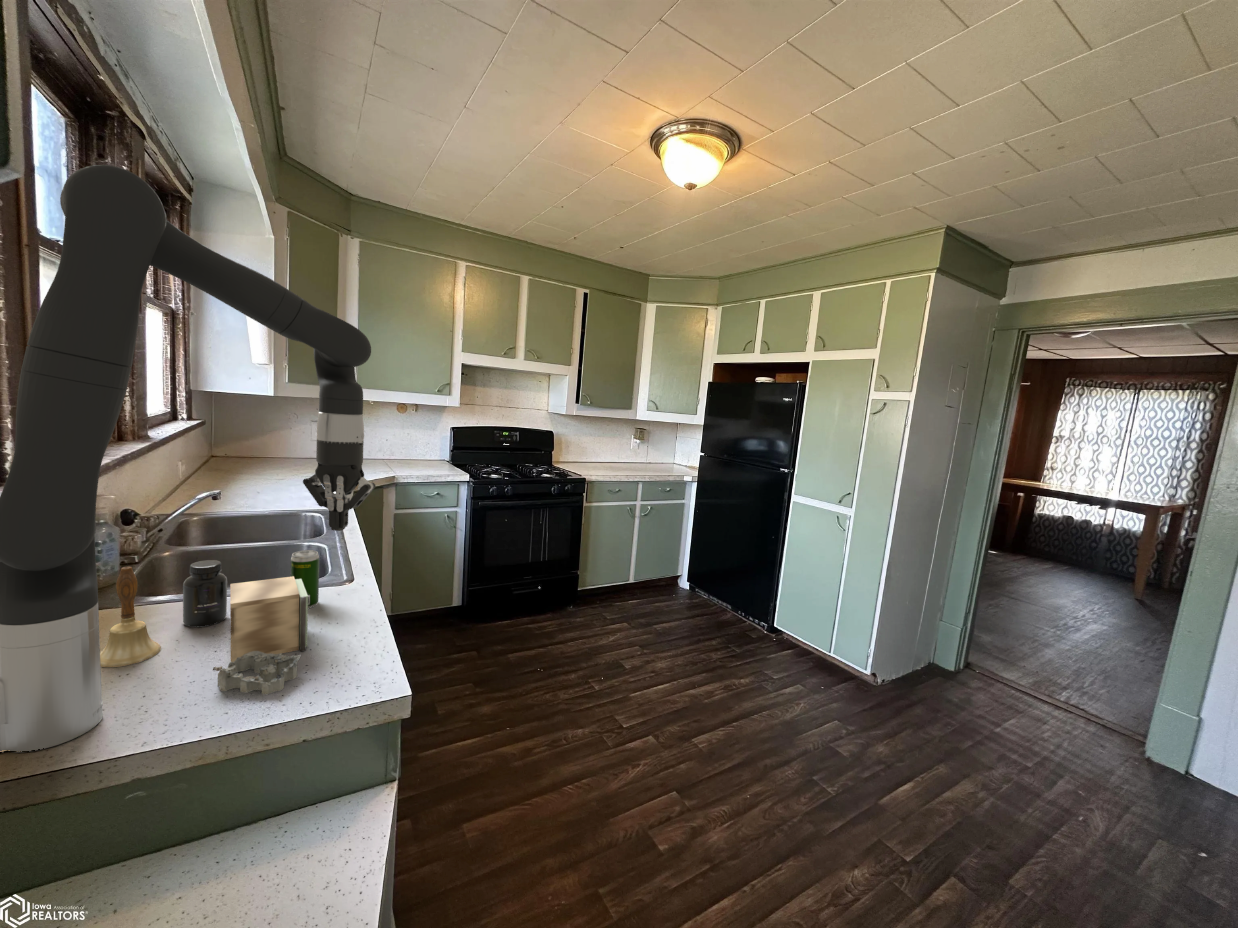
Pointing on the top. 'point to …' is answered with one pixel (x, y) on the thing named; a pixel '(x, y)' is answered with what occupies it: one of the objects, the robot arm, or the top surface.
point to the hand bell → (128, 629)
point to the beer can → (307, 573)
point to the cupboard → (266, 617)
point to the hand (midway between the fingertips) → (338, 529)
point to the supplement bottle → (204, 594)
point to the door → (301, 593)
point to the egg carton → (261, 664)
